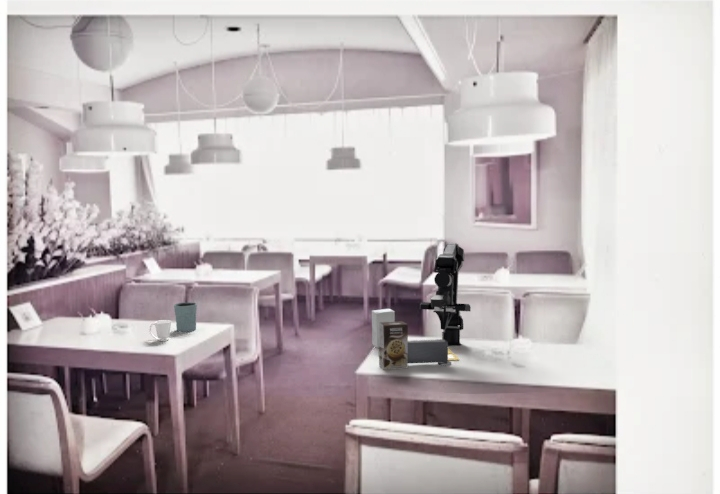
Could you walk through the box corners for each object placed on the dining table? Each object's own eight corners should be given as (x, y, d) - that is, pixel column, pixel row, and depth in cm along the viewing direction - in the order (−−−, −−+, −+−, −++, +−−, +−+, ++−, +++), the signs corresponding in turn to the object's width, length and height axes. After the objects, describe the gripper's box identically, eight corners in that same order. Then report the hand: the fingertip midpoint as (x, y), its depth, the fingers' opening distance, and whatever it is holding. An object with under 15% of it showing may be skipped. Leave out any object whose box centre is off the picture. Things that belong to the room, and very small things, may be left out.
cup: (166, 342, 267) (165, 323, 267) (145, 341, 270) (144, 322, 269) (175, 338, 274) (174, 320, 274) (154, 337, 277) (154, 319, 276)
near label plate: (448, 349, 253) (448, 347, 253) (452, 354, 245) (452, 353, 245) (433, 349, 252) (433, 348, 252) (437, 354, 244) (437, 353, 244)
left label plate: (454, 354, 244) (454, 353, 244) (459, 360, 236) (459, 359, 236) (439, 355, 244) (439, 354, 243) (443, 360, 236) (443, 359, 236)
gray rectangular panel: (446, 360, 232) (446, 339, 232) (447, 362, 230) (447, 340, 230) (404, 362, 231) (404, 340, 230) (405, 363, 229) (405, 341, 228)
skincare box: (390, 343, 263) (389, 308, 262) (395, 346, 257) (395, 310, 256) (371, 345, 260) (371, 309, 259) (376, 348, 255) (376, 312, 253)
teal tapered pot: (181, 333, 284) (180, 306, 283) (171, 329, 292) (170, 304, 291) (201, 329, 291) (200, 304, 290) (191, 326, 298) (190, 301, 297)
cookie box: (384, 370, 224) (383, 325, 223) (378, 365, 230) (378, 321, 229) (408, 368, 226) (408, 323, 225) (402, 363, 233) (402, 320, 231)
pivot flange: (449, 362, 234) (449, 360, 234) (452, 365, 229) (452, 364, 229) (436, 362, 234) (436, 360, 234) (438, 366, 229) (438, 364, 229)
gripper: (413, 287, 239) (412, 328, 237) (459, 288, 229) (458, 331, 227) (427, 288, 248) (425, 328, 247) (471, 289, 238) (470, 331, 237)
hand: (444, 329), depth 239 cm, fingers closed
